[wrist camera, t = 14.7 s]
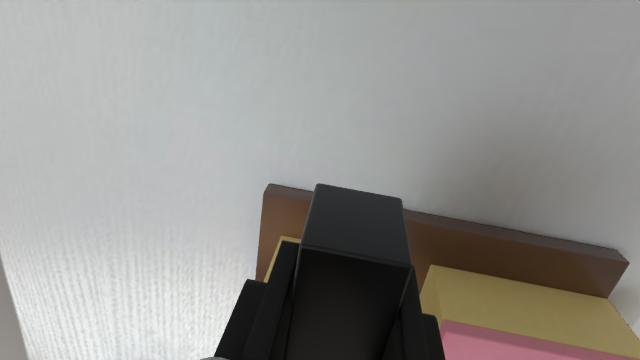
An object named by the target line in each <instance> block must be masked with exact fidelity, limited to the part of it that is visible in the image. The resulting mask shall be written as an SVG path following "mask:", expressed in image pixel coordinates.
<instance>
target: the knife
mask: <svg viewBox="0 0 640 360" xmlns="http://www.w3.org/2000/svg"><path fill="white" fill-rule="evenodd" d="M412 268H413V266H412V260H411V254H410V248H409V242H408V236H407V230H406V224H405V218H404V211H403V205H402V200H401V199H400V198H396V197H391V196H385V195H380V194H374V193H369V192H363V191H358V190H352V189H347V188H342V187H336V186H331V185H325V184H320V183H319V184H317V185H316V187H315V190H314V194H313V198H312V201H311V205H310V208H309V212H308V216H307V219H306V223H305V227H304V230H303V234H302V238H301V241H300V245H299V251H298V257H297V264H296V271H295V277H294V284H293V291H292V297H291V306H292V311H291V317H290V324H289V330H288V336H287V343H286V349H285V356H284V360H382V357H383V354H384V351H385V348H386V344H387V341H388V338H389V335H390V332H391V329H392V326H394V324H395V321H396V317H397V314H398V311H399V308H400V305H401V302H402V299H403V296H404V293H405V290H406V287H407V283H408V280H409V277H410V274H411V271H412Z"/></svg>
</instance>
